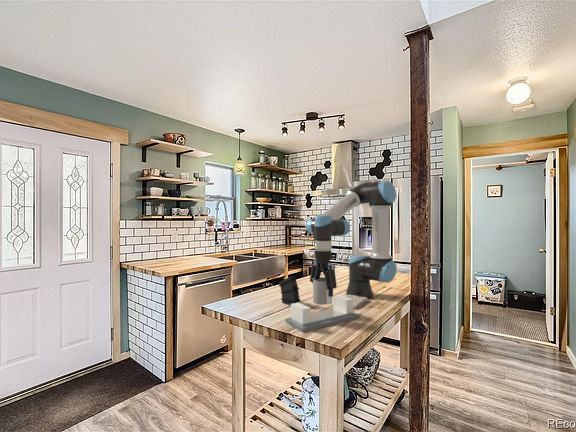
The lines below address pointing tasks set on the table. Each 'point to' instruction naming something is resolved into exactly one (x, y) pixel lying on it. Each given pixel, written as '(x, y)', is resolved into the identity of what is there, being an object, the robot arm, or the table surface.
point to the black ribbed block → (289, 291)
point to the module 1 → (301, 313)
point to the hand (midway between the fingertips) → (322, 300)
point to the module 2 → (343, 304)
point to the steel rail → (324, 316)
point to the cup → (319, 291)
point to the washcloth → (357, 301)
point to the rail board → (321, 324)
